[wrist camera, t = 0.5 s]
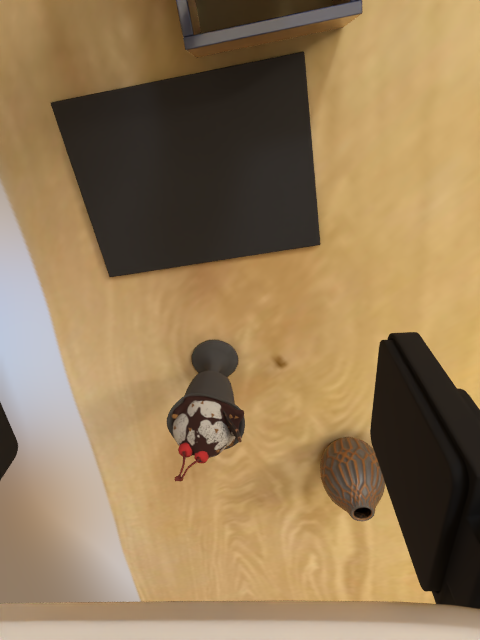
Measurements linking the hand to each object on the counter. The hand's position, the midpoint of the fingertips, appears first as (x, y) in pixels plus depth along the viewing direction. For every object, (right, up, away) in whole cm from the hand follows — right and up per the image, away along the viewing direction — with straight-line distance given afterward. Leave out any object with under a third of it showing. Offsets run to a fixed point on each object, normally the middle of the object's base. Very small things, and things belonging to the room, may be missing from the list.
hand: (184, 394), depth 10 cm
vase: (+14, -14, +40) cm, 45 cm away
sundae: (-1, -2, +35) cm, 35 cm away
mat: (-2, +14, +26) cm, 29 cm away
